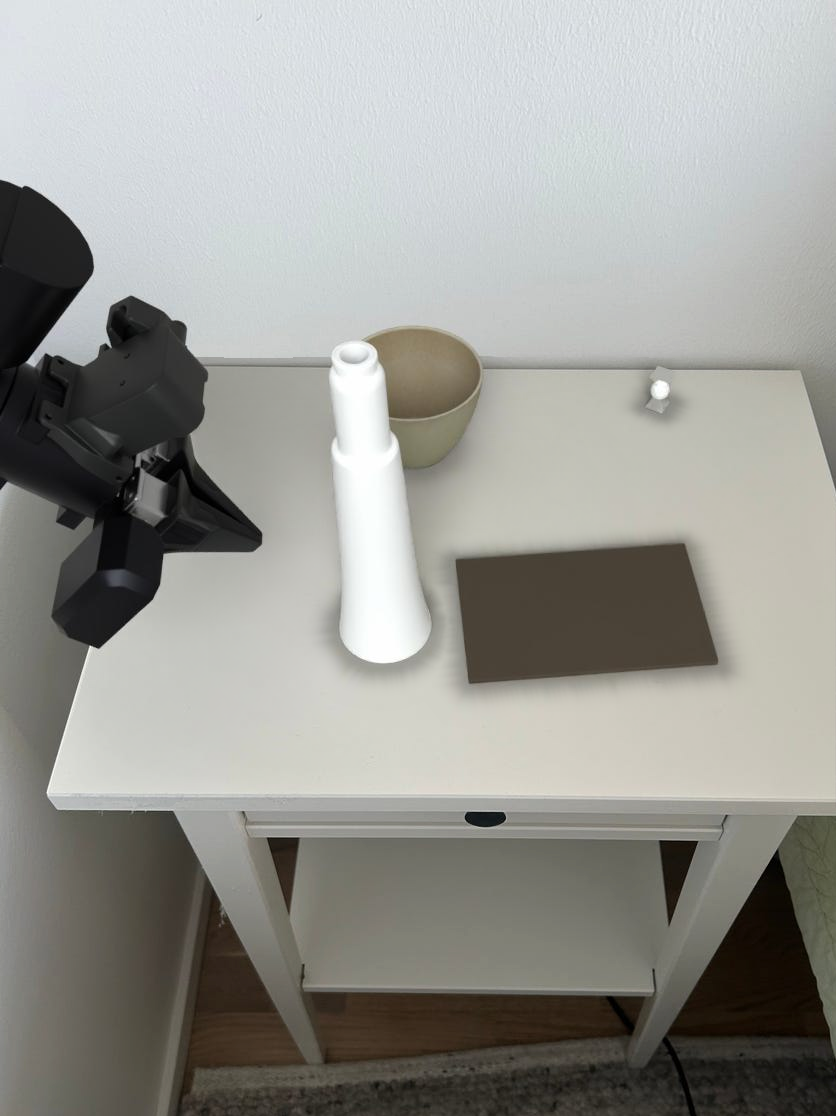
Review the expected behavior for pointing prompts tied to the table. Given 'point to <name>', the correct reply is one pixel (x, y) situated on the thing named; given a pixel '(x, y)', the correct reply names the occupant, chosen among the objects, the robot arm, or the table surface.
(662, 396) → the wrapped candy
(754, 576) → the table surface
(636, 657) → the mat
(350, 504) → the cosmetic bottle
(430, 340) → the bowl
